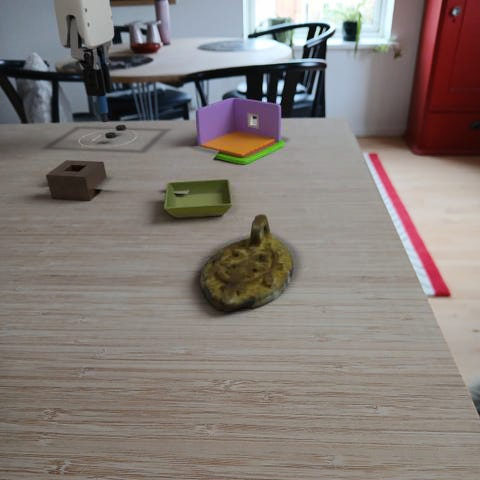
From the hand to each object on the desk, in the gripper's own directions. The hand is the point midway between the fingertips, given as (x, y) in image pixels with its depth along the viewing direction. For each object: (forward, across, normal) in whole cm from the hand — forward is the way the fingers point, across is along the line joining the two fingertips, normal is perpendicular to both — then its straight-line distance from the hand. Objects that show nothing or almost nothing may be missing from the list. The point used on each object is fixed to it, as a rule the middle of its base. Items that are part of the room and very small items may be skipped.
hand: (99, 93), depth 85 cm
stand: (+9, +19, +4) cm, 21 cm away
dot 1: (+8, 0, +1) cm, 8 cm away
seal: (+9, +38, +33) cm, 51 cm away
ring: (+9, -2, -1) cm, 10 cm away
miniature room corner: (+9, -2, +23) cm, 25 cm away
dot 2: (+8, -4, +1) cm, 9 cm away
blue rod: (+5, 0, 0) cm, 5 cm away
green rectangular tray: (+9, +22, +23) cm, 33 cm away
